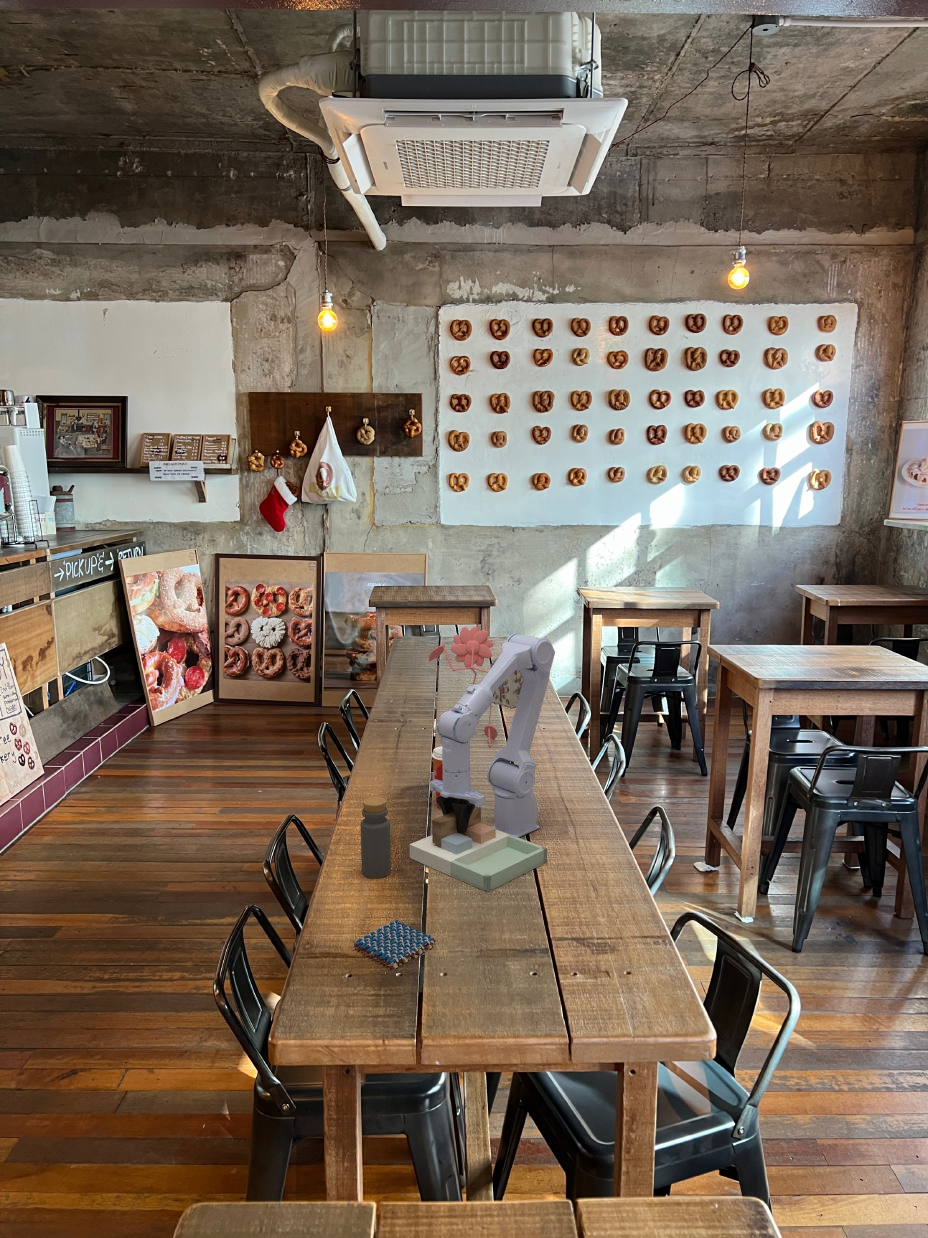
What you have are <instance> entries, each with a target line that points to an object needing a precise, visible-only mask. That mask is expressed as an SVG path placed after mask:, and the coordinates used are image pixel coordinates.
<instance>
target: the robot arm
mask: <svg viewBox="0 0 928 1238" xmlns="http://www.w3.org/2000/svg"><path fill="white" fill-rule="evenodd" d="M555 655H556V650H555V648H554V647H553V644H552V643H551V640H550V639H548V638H546V637H538V636H530V635H526V634H521V633H518V632H514V633H512V634H510V635H509V636H508V637H507V638H506V641H505V642H503V643H502V645H501V653H500V654H499V656H498V657H499V658H498V657H497V658H498V659H497V658H496V659H497V660H496V659H495V660H496V662H495V663H494V665H493V666H492V668H491V669H490V668H489V670H488V671H489V672H488V673H486V675H485V676H484V678H483V679H482V681H481V682H480V683H477V684H476V683H474V685H473V684H472V685H470V686H468V687H467V689H466V692H465V693H463V695H462V697H461V698H460V699H459V700H458V701H457V702H456V704H455V705H454V706H453V707H452V708H451V709H450V710H446V711H445V712H443V713H442V714H441V715H440V716H439V718H438V720H437V724H435V731H436V733H437V735H438V736H439V739H440V741H439V742H440V745H441V746H442V764H443V781H440V780H435V779H433V780H431V781H429V783H428V784H429V791H432V792H436V791H438V792H440V796H439V797H437V798H436V797H435V799H436V800H435V801H436V802H437V803H438V805H439V806H440V808H441V809H440V810H441V811H442V812H441V813H442V816H443V815H446V814H449V813H451V812H455V816H456V826H457V832H458V833H459V834H462V833H464V832H466V831H467V827H468V823H469V820H470V817H471V814H472V812H473V810H474V808H475V806H476V807H483V806H485V805H486V796H485V795H483V794H481V793H480V792H478V791H476V790H475V789H474V788H472V786H471V757H470V756H471V752H470V751H471V739H473V738H474V736H475V735H476V731H477V728H478V727H477V726H478V725H479V722H480V721H479V720H480V719H481V718H482V717H483V715H484V714H485V713H486V711H487V710H488V709H490V705H492V704H494V703H493V693H494V692H495V691H496V690H497V689H498V688H499V687H500V686H501V685H502V684H503V682H504V681H505V680H506V679H507V678H508V677H509V676H510V675H511V674H512V673H513V672H514V671H515V670H519V671H520V672H521V674H522V676H523V678H524V681H523V684H522V688H521V692H520V695H519V699H518V703H517V706H516V707H515V711H514V715H513V718H512V721H511V726H510V729H509V732H508V737H507V740H506V744H505V746H504V747H502V748H501V749H499V750H497V752H495V754H494V758H493V760H492V761H491V763H490V764H489V767H488V768H487V775H486V776H487V777H486V779H487V781H488V783H489V785H491V786H492V791H493V792H494V824H493V825H490V827H493V828H496V830H499V831H502V832H504V833H507V834H510V835H512V836H515V837H518V838H520V837H523V836H525V835H528V834H529V833H531V832H534V831H536V830H538V829H540V828H541V826H540V825H538V819H537V818H538V803H537V799H538V798H537V797H536V794H535V792H534V791H533V788H534V787H535V786H534V785H535V783H536V775H535V773H536V767H537V763H536V762H535V760H534V759H533V757H532V756H531V754H530V751H531V748H532V744H533V740H534V736H535V733H536V729H537V726H538V721H539V717H540V715H541V710H542V707H543V704H544V699H545V696H546V692H547V687H548V686H549V685H548V684H549V681H550V677H551V670H552V667H553V666H552V665H553V662H554V659H555ZM512 762H513V763H512ZM437 803H436V804H437Z"/></svg>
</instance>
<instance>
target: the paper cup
mask: <svg viewBox="0 0 928 1238" xmlns="http://www.w3.org/2000/svg"><path fill="white" fill-rule="evenodd" d="M431 757H432V761H433V762H432V763H433V774H434V775H433V776H434V780H440V781H443V764H442V745H440V746H437V747H435V748H434V749H433V750H432V753H431ZM439 796H440V792H438V791H435V799H436V798H437V797H439ZM435 804H436V807H437V809H439V810H441V808H440V806H439V805H438V803H437V802H436V803H435Z"/></svg>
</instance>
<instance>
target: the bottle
mask: <svg viewBox="0 0 928 1238" xmlns="http://www.w3.org/2000/svg"><path fill="white" fill-rule="evenodd" d="M362 805H363V808H362V810H361V815H362V817H363V819H362V820H361V821H360V857H361V874H362V876H364V877H365V878H368V879H380V878H385V877H387V876H389V875H390V874H391V872H392V859H391V858H392V855H391V821H390V820H389V818H387V817H386V816H387V815H388V814H389V813H388V812H389V810H388V807H386V806H387V799H386V798H385V797H381V796H370V797H367V798H364V799H363V801H362Z"/></svg>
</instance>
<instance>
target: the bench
mask: <svg viewBox="0 0 928 1238" xmlns="http://www.w3.org/2000/svg"><path fill="white" fill-rule="evenodd" d="M509 835H510V834H507V833H504V832H502V831H499V830H496V838H493V839H491V840H489V841H487V842H484V843H482V844H480V843H478V842H475V841H472V848H471V849H468V850H466V851H464V852H462V853H459V854H457V855H456V854H454V853H452V852H449V851H447V850H445V849H442V848H441V846H439V845H436V844H434V843H432V834H431V835H429V836H426V837H424V838H422V839H420V840H419V839H418V840H417V841H414V842H412V843H409V859H411V860H413V861H416V862H418V863H421V864H423V865H425V866H427V867H429V868H432V869H434V870H436V871H439V872H441V873H443V874H445V875H448V876H450V861H453V860H455V861H457V862H460V863H462V864H465V865H469V864H471V863H473V862H475V861H478V860H480V859H482V858H484V857H486V856H489V855H491V854H493V853H495V852H497V851H499V850H502V849H504V848H506V847H507V836H509Z"/></svg>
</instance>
